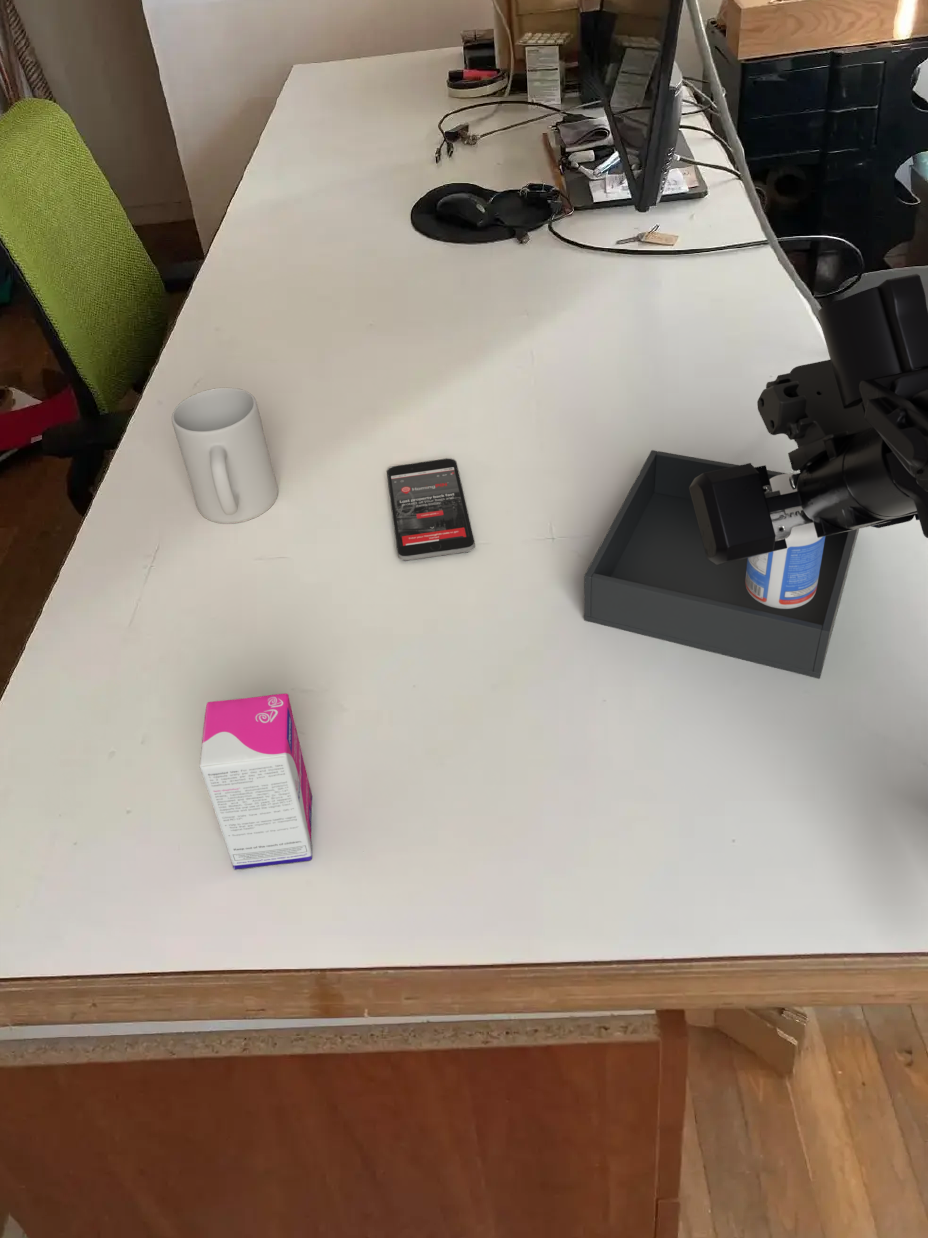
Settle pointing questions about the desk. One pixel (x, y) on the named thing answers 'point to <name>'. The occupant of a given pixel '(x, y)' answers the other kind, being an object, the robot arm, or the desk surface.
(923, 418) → the robot arm
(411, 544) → the smartphone
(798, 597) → the pill bottle
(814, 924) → the desk surface
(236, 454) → the mug
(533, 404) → the desk surface
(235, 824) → the supplement box
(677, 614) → the dark grey storage tray
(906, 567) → the desk surface
